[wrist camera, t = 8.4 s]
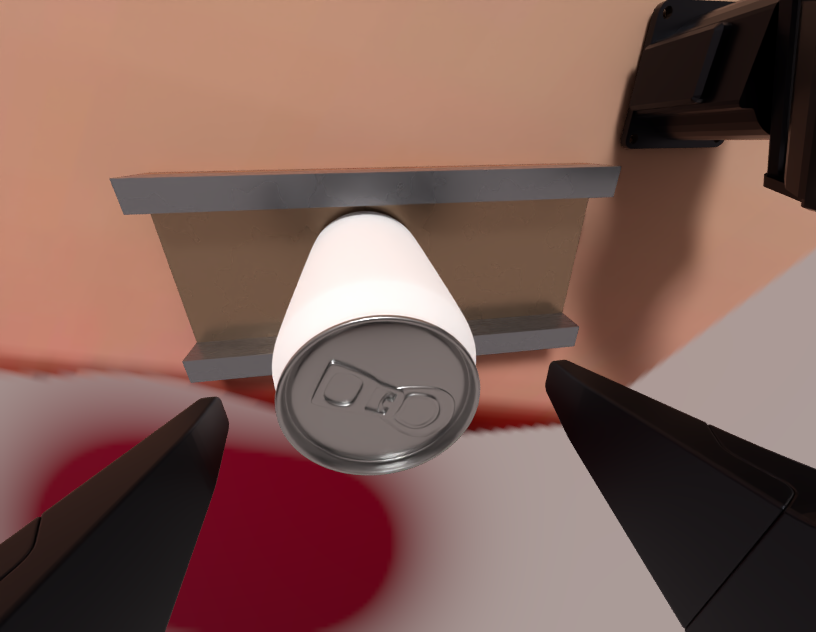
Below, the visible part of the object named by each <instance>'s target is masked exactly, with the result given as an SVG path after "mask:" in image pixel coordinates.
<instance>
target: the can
mask: <svg viewBox="0 0 816 632" xmlns="http://www.w3.org/2000/svg"><path fill="white" fill-rule="evenodd" d="M272 376H273V381H274V386H275V389H276V394H275V410H276V416H277V420H278V423H279V425H280V428H281V430H282V432H283V434H284V435H285V437H286V438H287V440H288V441H289V442H290V443H291V444H292V446H293V447H294V448H295V449H296V450H298V451H299V452H300V453H301V454H302V455H304V456H305V457H306V458H308V459H309V460H311V461H313V462H315V463H317V464H319V465H321V466H323V467H325V468H328V469H331V470H335V471H338V472H343V473H348V474H355V475H382V474H390V473H395V472H400V471H403V470H407V469H410V468H413V467H416V466H419V465H421V464H423V463H425V462H427V461H429V460H431V459H433V458H435V457H436V456H438V455H440V454H441V453H442V452H444V451H445V450H447V449H448V448H449V447H450V446H451V445H453V444H454V443H455V442H456V441H457V440H458V439H459V438H460V437H461V435H462V434H463V433H464V432H465V430H466V429H467V428H468V426H469V424H470V423H471V421H472V419H473V417H474V415H475V412H476V410H477V406H478V403H479V397H480V380H479V375H478V371H477V368H476V349H475V343H474V339H473V335H472V333H471V330H470V327H469V325H468V323H467V321H466V319H465V317H464V315H463V314H462V312H461V310H460V308H459V307H458V305H457V303H456V302H455V300H454V299H453V297H452V295H451V294H450V292H449V291H448V289H447V287H446V286H445V284H444V283H443V281H442V280H441V278H440V276H439V275H438V273H437V272H436V270H435V269H434V267H433V265H432V264H431V262H430V261H429V259H428V258H427V256H426V255H425V253H424V251H423V250H422V248H421V247H420V245H419V244H418V242H417V241H416V239H415V238H414V237H413V235H412V234H411V233H410V231H409V230H408V229H407V228H406V227H405V226H404V225H402V224H401V223H400V222H399V221H397V220H396V219H394V218H392V217H390V216H388V215H385V214H382V213H378V212H372V211H358V212H353V213H349V214H346V215H343V216H341V217H339V218H337V219H335V220H334V221H332V222H331V223H330V224H328V225H327V226H326V227H325V228H324V229H323V230H322V232H321V233H320V234H319V236H318V237H317V239H316V241H315V243H314V245H313V247H312V249H311V251H310V254H309V256H308V259H307V261H306V264H305V266H304V269H303V271H302V273H301V276H300V278H299V281H298V284H297V286H296V289H295V291H294V294H293V296H292V299H291V301H290V304H289V306H288V309H287V312H286V314H285V317H284V320H283V322H282V325H281V328H280V330H279V333H278V336H277V340H276V343H275V347H274V352H273V358H272Z"/></svg>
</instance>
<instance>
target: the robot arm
mask: <svg viewBox="0 0 816 632" xmlns="http://www.w3.org/2000/svg"><path fill="white" fill-rule="evenodd" d="M664 9H665V10H666V16H665V18H664V17H663V11H664ZM631 136H633V139H632V141H631V142H630V137H631ZM724 140H770V141H769V155H768V169H767V173H765V174H764V185H763V186H764V187H766V188H769V189H771V190H774V191H776V192H778V193H781V194H783V195H786V196H788V197H791V198H793V199H795V200H798V201H800V202H801V206H802V207H803V208H806V209H808V210H811V211H815V212H816V0H740V1H737V2H727V1H705V0H666V1H664V2H662V3H660V4H659V5H657V7H656V8H655V9H654V12H653V14H652V18H651V22H650V26H649V30H648V34H647V38H646V42H645V46H644V49H643V53H642V57H641V61H640V65H639V69H638V73H637V77H636V81H635V85H634V89H633V93H632V96H631V100H630V105H629V109H628V113H627V117H626V121H625V125H624V129H623V132H622V136H621V146H622V147H623V148H626V149H642V148H701V147H718V146H719V145H721V144H722V143H723V141H724ZM545 387H546V392H547V394H548V396H549V398H550V400H551V403H552V405H553V407H554V409H555V411H556V413H557V415H558V417H559V419H560V422H561V424H562V426H563V428H564V430H565V432H566V434H567V436H568V438H569V440H570V441H571V443H572V445H573V446H574V448H575V450H576V451H577V453H578V455H579V457H580V458H581V460H582V461H583V463H584V465H585V466H586V468H587V470H588V471H589V473H590V475H591V476H592V478H593V479H594V481H595V483H596V485H597V486H598V488H599V489H600V491H601V493H602V495H603V496H604V498H605V499H606V501H607V503H608V504H609V506H610V508H611V509H612V511H613V513H614V514H615V516H616V518H617V519H618V521H619V523H620V524H621V526H622V527H623V529H624V531H625V532H626V534H627V536H628V537H629V539H630V541H631V542H632V544H633V546H634V547H635V549H636V551H637V552H638V554H639V556H640V557H641V559H642V560H643V562H644V564H645V565H646V567H647V569H648V571H649V572H650V574H651V575H652V577H653V579H654V580H655V582H656V584H657V585H658V587H659V589H660V590H661V592H662V594H663V595H664V597H665V599H666V600H667V602H668V604H669V605H670V607H671V609H672V610H673V612H674V613H675V615H676V617H677V618H678V620H679V622H680V623H681V625H682V627H683V628H685V632H816V469H815V468H812V467H810V466H807V465H805V464H802V463H800V462H797V461H795V460H792V459H790V458H787V457H785V456H782V455H780V454H777V453H775V452H773V451H770V450H767V449H765V448H763V447H760V446H758V445H756V444H753V443H751V442H749V441H746V440H744V439H742V438H739V437H737V436H735V435H733V434H730V433H728V432H726V431H724V430H721V429H719V428H717V427H715V426H712V425H707V424H706V423H705V422H703V421H701V420H699V419H697V418H695V417H692V416H690V415H688V414H686V413H683V412H681V411H679V410H677V409H674V408H672V407H670V406H667V405H666V404H663V403H661V402H659V401H657V400H654V399H652V398H650V397H648V396H645V395H643V394H641V393H639V392H637V391H634V390H632V389H630V388H628V387H625V386H623V385H621V384H619V383H616V382H614V381H612V380H610V379H608V378H605V377H603V376H601V375H599V374H596V373H594V372H592V371H590V370H588V369H585V368H583V367H581V366H579V365H576V364H574V363H572V362H570V361H567V360H558V361H553V362H551V363H550V365H549V370H548V374H547V379H546V383H545ZM228 429H229V421H228V418H227V415H226V412H225V410H224V407H223V404H222V401H221V400H220V398H218V397H207V398H201V399H199V400H198V401H196V402H195V403H193V404H192V405H191V406H189V407H188V408H187V409H185V410H184V411H183V412H181V413H180V414H178V415H177V416H176V417H174V418H173V419H172V420H170V421H169V422H168V423H166V424H165V425H164V426H162V427H160V428H159V429H158V430H156V431H155V432H154V433H152V434H151V435H150V436H148V437H147V438H145V439H144V440H143V441H142V442H140V443H139V444H137V445H136V446H134V447H133V448H132V449H130V450H129V451H128V452H127V453H125V454H123V455H122V456H121V457H119V458H118V459H117V460H115V461H114V462H113V463H111V464H110V465H108V466H107V467H106V468H104V469H103V470H102V471H101V472H99V473H97V474H96V475H95V476H93V477H92V478H91V479H89V480H88V481H87V482H85V483H84V484H82V485H81V486H80V487H78V488H77V489H75V490H74V491H73V492H71V493H70V494H69V495H67V496H66V497H65V498H63V499H62V500H60V501H59V502H58V503H56V504H55V505H54V506H52V507H51V508H50V509H48V510H47V511H45V512H44V513H43V514H42V516H41V517H37V518H36V519H34V520H33V521H31V522H30V523H29V524H27V525H26V526H25V527H23V528H22V529H21V530H19V531H18V532H17V533H15V534H14V535H12V536H11V537H10V538H8V539H7V540H5V541H4V542H3V543H1V544H0V632H165V630H166V627H167V624H168V622H169V619H170V616H171V613H172V610H173V607H174V604H175V601H176V599H177V596H178V593H179V590H180V587H181V584H182V581H183V579H184V576H185V573H186V570H187V567H188V564H189V561H190V558H191V555H192V553H193V550H194V547H195V544H196V541H197V538H198V535H199V533H200V530H201V527H202V524H203V521H204V518H205V515H206V512H207V510H208V507H209V504H210V501H211V498H212V494H213V492H214V489H215V485H216V481H217V478H218V473H219V469H220V465H221V460H222V456H223V451H224V447H225V443H226V438H227V434H228Z"/></svg>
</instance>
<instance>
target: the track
mask: <svg viewBox="0 0 816 632" xmlns="http://www.w3.org/2000/svg"><path fill="white" fill-rule="evenodd" d="M620 170H621V166H611V165H600V164H589V163H572V164H527V165H482V166H437V167H392V168H347V169H302V170H257V171H212V172H167V173H144V174H137V175H130V176H124V177H117V178H110V181H111V184H112V186H113V189H114V191H115V194H116V196H117V199H118V201H119V204H120V206H121V209H122V211H123V214H124V215H129V214H151V217H152V219H153V222H154V225H155V228H156V230H157V233H158V236H159V239H160V242H161V244H162V247H163V250H164V253H165V255H166V258H167V261H168V264H169V266H170V269H171V272H172V275H173V278H174V280H175V283H176V286H177V289H178V291H179V294H180V297H181V300H182V302H183V305H184V308H185V311H186V313H187V316H188V319H189V322H190V325H191V327H192V330H193V333H194V336H195V338H196V341H197V343H196V345H195V346H194V347H193V348H192V350H191V351H190V352H189V354H188V355H187V356H186V357H185V359H184V360H183V361H182V362H183V365H184V367H185V370H186V372H187V375H188V377H189V380H190V382H191V383H193V382H204V381H214V380H225V379H235V378H246V377H256V376H267V375H272V358H273V352H274V347H275V343H276V340H277V336H278V333H279V330H280V328H281V325H282V322H283V320H284V317H285V314H286V312H287V309H288V306H289V304H290V301H291V299H292V296H293V294H294V291H295V289H296V286H297V284H298V281H299V278H300V276H301V273H302V271H303V269H304V266H305V264H306V261H307V259H308V256H309V254H310V251H311V249H312V247H313V245H314V243H315V241H316V239H317V237H318V236H319V234H320V233H321V232H322V230H323V229H324V228H325V227H326V226H327V225H328V224H330V223H331V222H332V221H334V220H335V219H337V218H339V217H341V216H343V215H346V214H349V213H353V212H358V211H372V212H378V213H382V214H385V215H388V216H390V217H392V218H394V219H396V220H397V221H399V222H400V223H401V224H402V225H404V226H405V227H406V228H407V229H408V230H409V231H410V233H411V234H412V235H413V237H414V238H415V239H416V241H417V242H418V244H419V245H420V247H421V248H422V250H423V251H424V253H425V255H426V256H427V258H428V259H429V261H430V262H431V264H432V265H433V267H434V269H435V270H436V272H437V273H438V275H439V276H440V278H441V280H442V281H443V283H444V284H445V286H446V287H447V289H448V291H449V292H450V294H451V295H452V297H453V299H454V300H455V302H456V303H457V305H458V307H459V308H460V310H461V312H462V314H463V315H464V317H465V319H466V321H467V323H468V325H469V327H470V330H471V333H472V335H473V339H474V343H475V349H476V355H487V354H497V353H508V352H518V351H529V350H539V349H550V348H560V347H571V346H574V345H575V341H576V337H577V334H578V330H579V326H578V325H577V324H575V323H574V322H573V321H572V320H570V319H569V318H568V317H567V316H566V315H564V314H563V313H562V312H563V307H564V303H565V299H566V294H567V290H568V286H569V281H570V277H571V273H572V268H573V264H574V260H575V255H576V251H577V247H578V242H579V238H580V234H581V229H582V225H583V221H584V216H585V212H586V207H587V203H588V199H589V198H599V197H613V196H614V193H615V189H616V185H617V181H618V177H619V174H620Z"/></svg>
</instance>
